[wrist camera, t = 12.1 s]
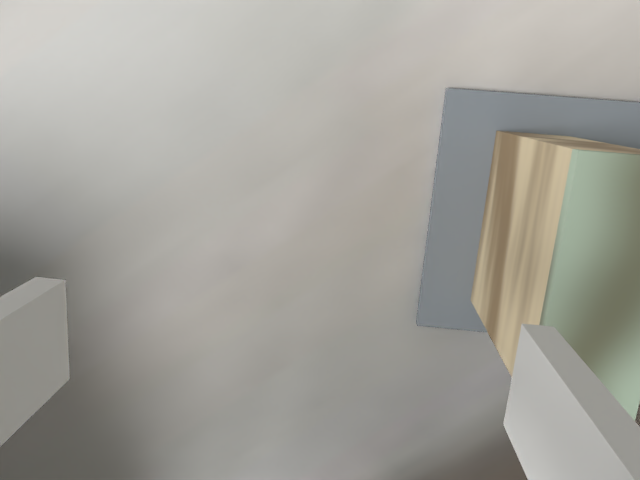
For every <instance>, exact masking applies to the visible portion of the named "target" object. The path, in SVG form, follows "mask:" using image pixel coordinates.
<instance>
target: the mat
mask: <svg viewBox="0 0 640 480" xmlns="http://www.w3.org/2000/svg"><path fill="white" fill-rule="evenodd" d="M496 131H509V132H522V133H534V134H547V135H560V136H571V137H577V138H582V139H587V140H593V141H598V142H604V143H609V144H615V145H620V146H625V147H631V148H636V149H640V102H628V101H615V100H602V99H588V98H575V97H561V96H548V95H535V94H521V93H508V92H495V91H481V90H468V89H454V88H446V92H445V100H444V107H443V115H442V123H441V131H440V139H439V147H438V155H437V162H436V170H435V178H434V186H433V194H432V202H431V210H430V218H429V225H428V233H427V241H426V249H425V257H424V265H423V273H422V280H421V288H420V296H419V304H418V312H417V320H416V323H417V326H427V327H437V328H447V329H457V330H468V331H478V332H487V330H486V328H485V326H484V325H483V323H482V321H481V319H480V317H479V315H478V313H477V311H476V310H475V308H474V306H473V304H472V302H471V294H472V287H473V281H474V274H475V268H476V261H477V254H478V248H479V241H480V235H481V228H482V222H483V215H484V209H485V202H486V195H487V189H488V182H489V176H490V169H491V163H492V156H493V150H494V143H495V136H496Z"/></svg>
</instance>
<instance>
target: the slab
mask: <svg viewBox="0 0 640 480" xmlns="http://www.w3.org/2000/svg"><path fill="white" fill-rule="evenodd" d="M471 302H472V304H473V306H474V308H475V310H476V311H477V313H478V315H479V317H480V319H481V321H482V323H483V325H484V326H485V328H486V330H487V332H488V334H489V336H490V338H491V339H492V341H493V343H494V345H495V347H496V349H497V351H498V352H499V354H500V356H501V358H502V360H503V362H504V364H505V366H506V367H507V369H508V371H509V373H510V375H511V377H512V374H513V369H514V363H515V358H516V352H517V347H518V341H519V336H520V330H521V324H531V325H542V326H552V327H555V328H556V330H557V331H558V332H559V333H560V334H561V335H562V337H563V338H564V339H565V340H566V341H567V342H568V344H569V345H570V346H571V347H572V348H573V349H574V351H575V352H576V353H577V354H578V355H579V356H580V358H581V359H582V360H583V361H584V362H585V363H586V365H587V366H588V367H589V368H590V369H591V371H592V372H593V373H594V374H595V375H596V376H597V378H598V379H599V380H600V381H601V382H602V383H603V385H604V386H605V387H606V388H607V389H608V390H609V392H610V393H611V394H612V395H613V396H614V397H615V399H616V400H617V401H618V402H619V403H620V404H621V406H622V407H623V408H624V409H625V410H626V411H627V413H628V414H629V415H630V416H631V417H632V418H633V420H634V421H635V419H636V414H637V410H638V406H639V402H640V149H636V148H631V147H625V146H620V145H615V144H609V143H604V142H598V141H593V140H587V139H582V138H577V137H571V136H560V135H547V134H534V133H522V132H509V131H496V136H495V143H494V150H493V156H492V163H491V169H490V176H489V182H488V189H487V195H486V202H485V209H484V215H483V222H482V228H481V235H480V241H479V248H478V254H477V261H476V268H475V274H474V281H473V287H472V294H471Z"/></svg>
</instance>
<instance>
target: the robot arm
mask: <svg viewBox="0 0 640 480" xmlns="http://www.w3.org/2000/svg"><path fill="white" fill-rule="evenodd" d="M68 380H70V369H69V345H68V322H67V299H66V280H64V279H53V278H43V277H35V278H33V279H31V280H29V281H27V282H26V283H24V284H22V285H20V286H18V287H17V288H15V289H13V290H11V291H9V292H8V293H6V294H4V295H2V296H0V447H1V446H2V445H3V444H4V443H5V442H6V441H7V440H8V439H9V438H10V437H11V436H12V435H13V434H14V433H15V432H16V431H17V430H18V429H19V428H20V427H21V426H22V425H23V424H24V423H25V422H26V421H27V420H28V419H29V418H30V417H31V416H32V415H33V414H35V413H36V412H37V411H38V410H39V409H40V408H41V407H42V406H43V405H44V404H45V403H46V402H47V401H48V400H49V399H50V398H51V397H52V396H53V395H54V394H55V393H56V392H57V391H58V390H59V389H60V388H61V387H62V386H63V385H64V384H65V383H66V382H67V381H68ZM503 425H504V427H505V429H506V432H507V434H508V436H509V438H510V441H511V443H512V445H513V447H514V450H515V452H516V454H517V456H518V459H519V461H520V463H521V465H522V468H523V470H524V472H525V474H526V477H527V479H528V480H640V427H639V425H638V424H637V423H636V422H635V421H634V420H633V418H632V417H631V416H630V415H629V414H628V413H627V411H626V410H625V409H624V408H623V407H622V406H621V404H620V403H619V402H618V401H617V400H616V399H615V397H614V396H613V395H612V394H611V393H610V392H609V390H608V389H607V388H606V387H605V386H604V385H603V383H602V382H601V381H600V380H599V379H598V378H597V376H596V375H595V374H594V373H593V372H592V371H591V369H590V368H589V367H588V366H587V365H586V363H585V362H584V361H583V360H582V359H581V358H580V356H579V355H578V354H577V353H576V352H575V351H574V349H573V348H572V347H571V346H570V345H569V344H568V342H567V341H566V340H565V339H564V338H563V337H562V335H561V334H560V333H559V332H558V331H557V330H556V328H555V327H552V326H542V325H531V324H521V330H520V336H519V341H518V347H517V352H516V358H515V363H514V369H513V374H512V380H511V385H510V391H509V396H508V402H507V407H506V413H505V418H504V424H503Z"/></svg>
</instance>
